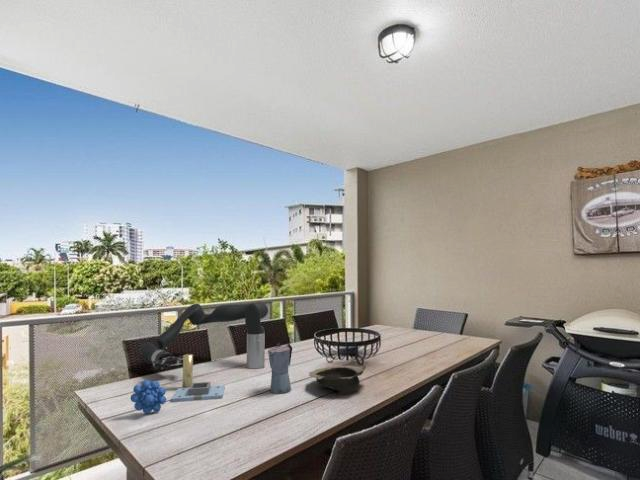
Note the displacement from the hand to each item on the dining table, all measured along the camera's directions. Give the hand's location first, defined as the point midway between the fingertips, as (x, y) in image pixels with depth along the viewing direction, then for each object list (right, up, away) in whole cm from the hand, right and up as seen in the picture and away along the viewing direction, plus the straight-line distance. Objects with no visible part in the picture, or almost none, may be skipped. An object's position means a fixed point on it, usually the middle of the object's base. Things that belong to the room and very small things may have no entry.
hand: (177, 365), depth 159 cm
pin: (+7, -7, -8) cm, 13 cm away
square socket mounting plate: (+15, -7, -15) cm, 22 cm away
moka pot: (+48, -7, -10) cm, 49 cm away
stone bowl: (+72, -8, -7) cm, 73 cm away
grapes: (+4, -5, -35) cm, 35 cm away
